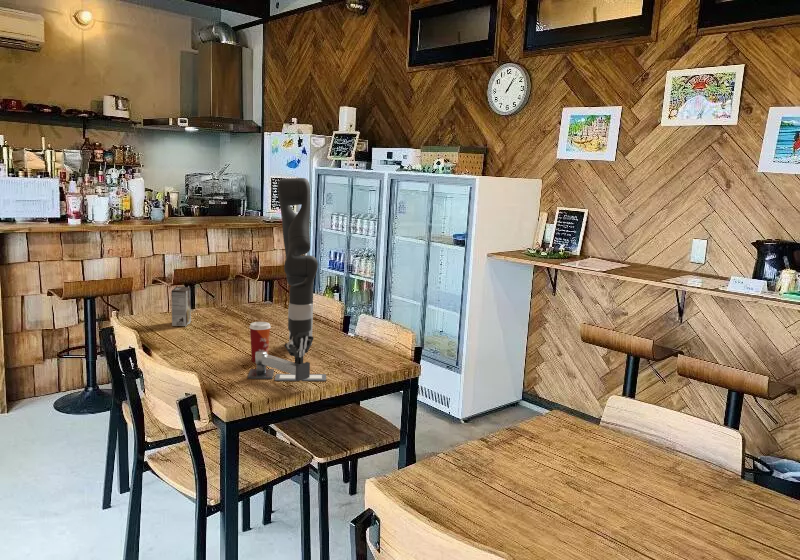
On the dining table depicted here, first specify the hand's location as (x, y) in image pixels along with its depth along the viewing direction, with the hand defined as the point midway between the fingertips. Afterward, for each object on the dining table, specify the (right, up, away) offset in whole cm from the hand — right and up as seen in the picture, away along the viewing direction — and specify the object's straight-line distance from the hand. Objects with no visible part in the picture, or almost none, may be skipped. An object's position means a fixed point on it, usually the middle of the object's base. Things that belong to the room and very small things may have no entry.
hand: (298, 367), depth 201 cm
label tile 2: (+4, -5, +7) cm, 9 cm away
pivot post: (-14, -4, +7) cm, 16 cm away
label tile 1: (-5, -4, +5) cm, 8 cm away
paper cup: (-18, -1, +23) cm, 29 cm away
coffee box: (-63, +9, +68) cm, 93 cm away
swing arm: (-6, -2, +1) cm, 7 cm away
